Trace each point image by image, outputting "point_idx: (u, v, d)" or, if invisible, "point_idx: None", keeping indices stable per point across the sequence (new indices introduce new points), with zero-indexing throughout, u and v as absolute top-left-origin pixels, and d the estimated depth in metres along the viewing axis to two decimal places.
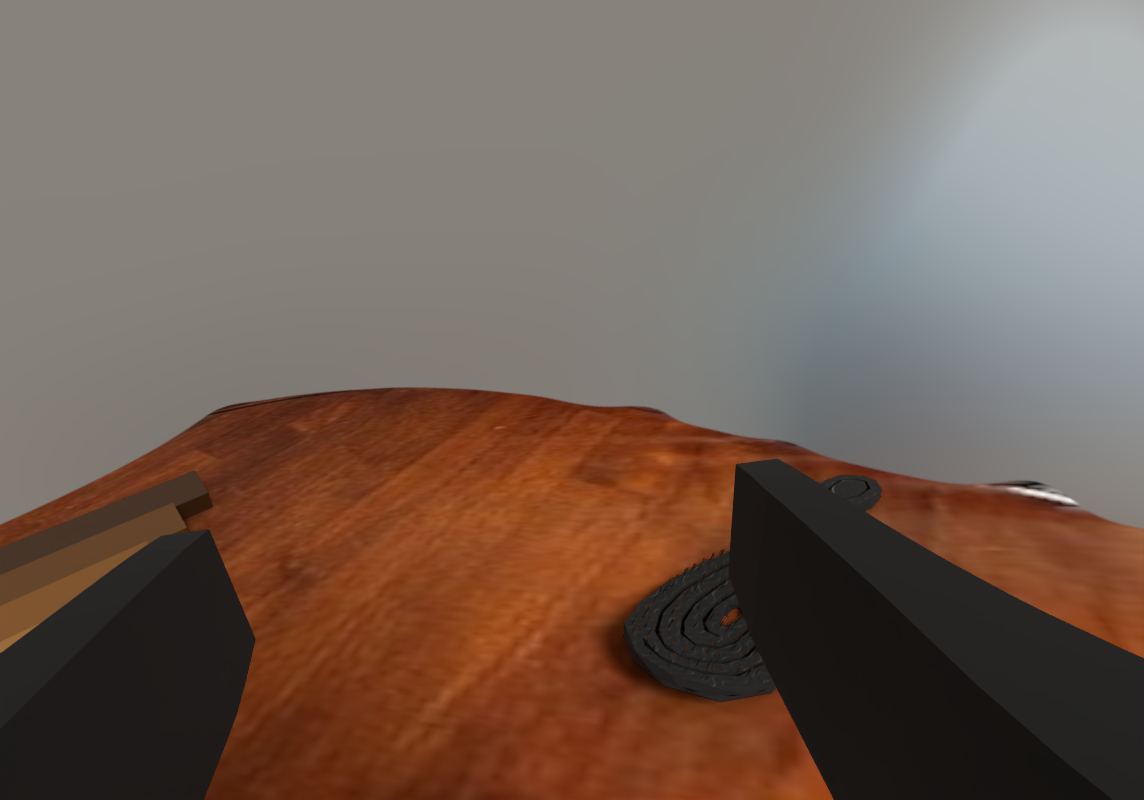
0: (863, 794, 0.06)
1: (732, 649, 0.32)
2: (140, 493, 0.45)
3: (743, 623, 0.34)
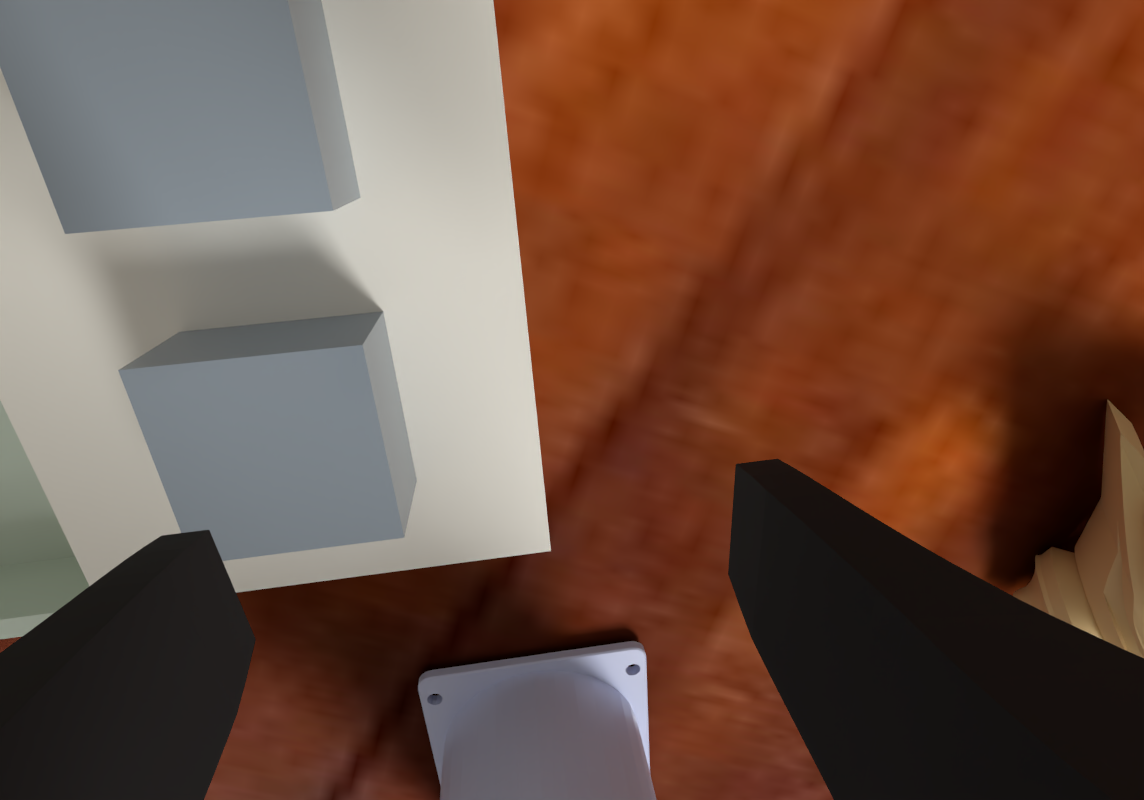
0: (863, 794, 0.06)
1: None
2: None
3: None
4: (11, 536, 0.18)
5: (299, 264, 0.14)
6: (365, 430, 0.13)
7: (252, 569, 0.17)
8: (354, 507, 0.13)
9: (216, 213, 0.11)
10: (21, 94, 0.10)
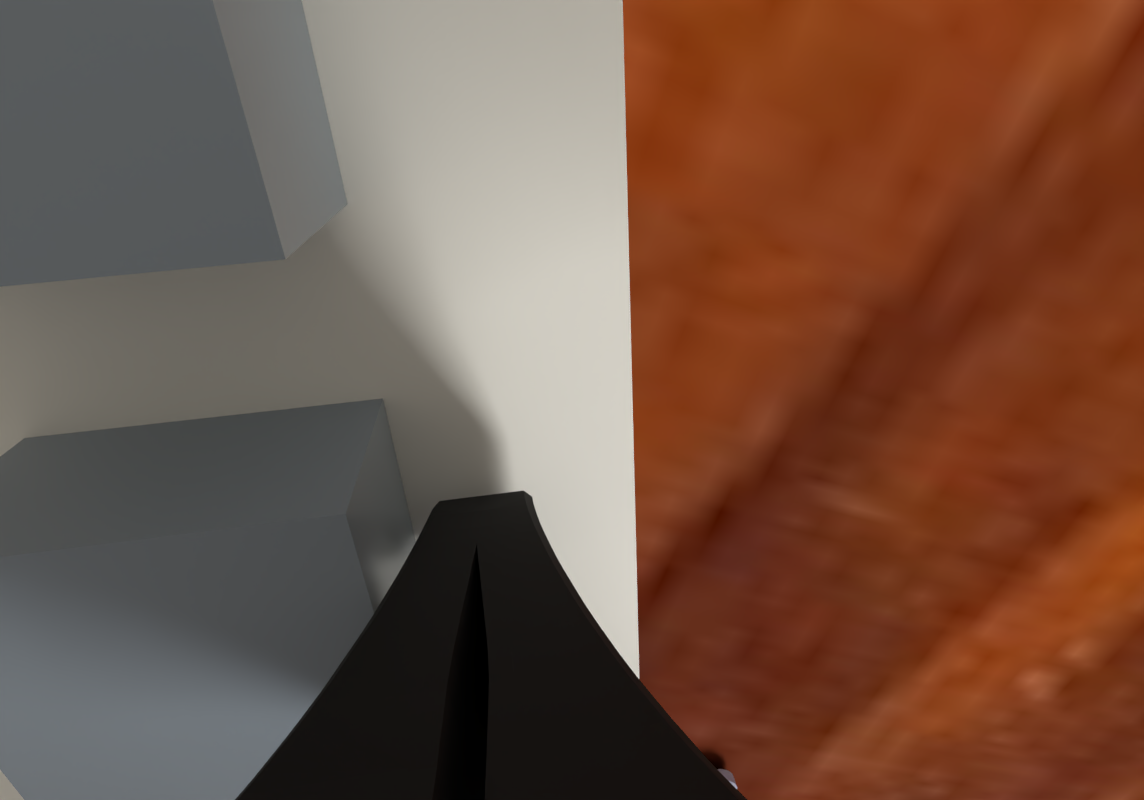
0: None
1: None
2: None
3: None
4: None
5: (240, 323, 0.08)
6: None
7: None
8: None
9: (14, 269, 0.05)
10: None
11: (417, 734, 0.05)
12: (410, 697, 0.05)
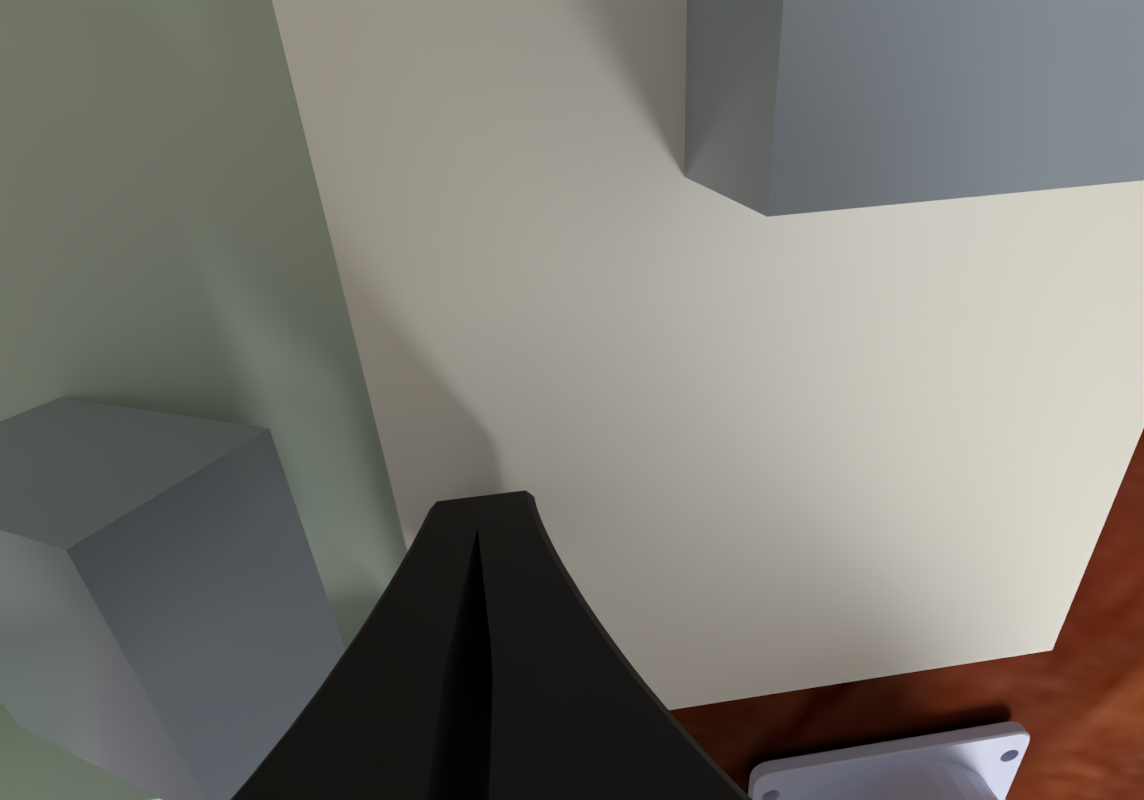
0: None
1: None
2: None
3: None
4: None
5: (896, 258, 0.08)
6: (121, 673, 0.07)
7: (666, 687, 0.12)
8: (148, 761, 0.08)
9: (1052, 175, 0.05)
10: None
11: (411, 736, 0.05)
12: (405, 697, 0.05)
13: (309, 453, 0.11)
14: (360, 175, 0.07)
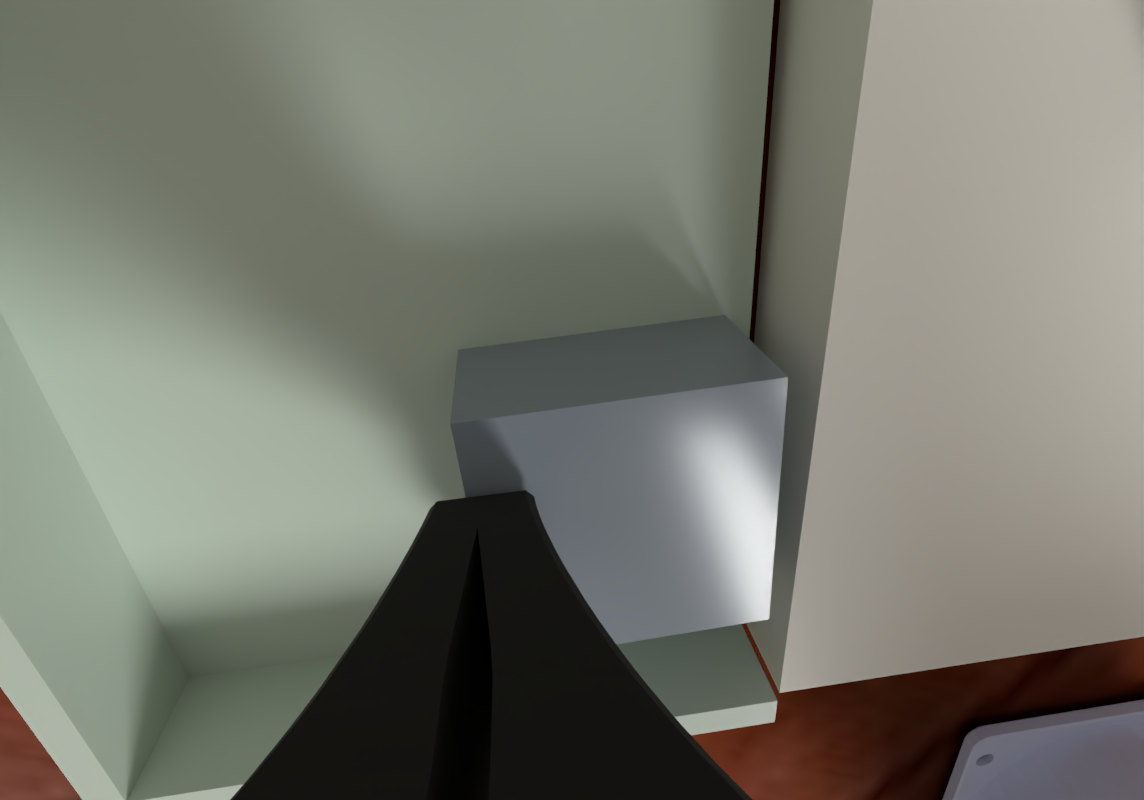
0: None
1: None
2: None
3: None
4: None
5: None
6: (759, 490, 0.09)
7: (983, 638, 0.12)
8: (718, 586, 0.10)
9: None
10: None
11: (413, 736, 0.05)
12: (405, 698, 0.05)
13: None
14: (895, 126, 0.07)
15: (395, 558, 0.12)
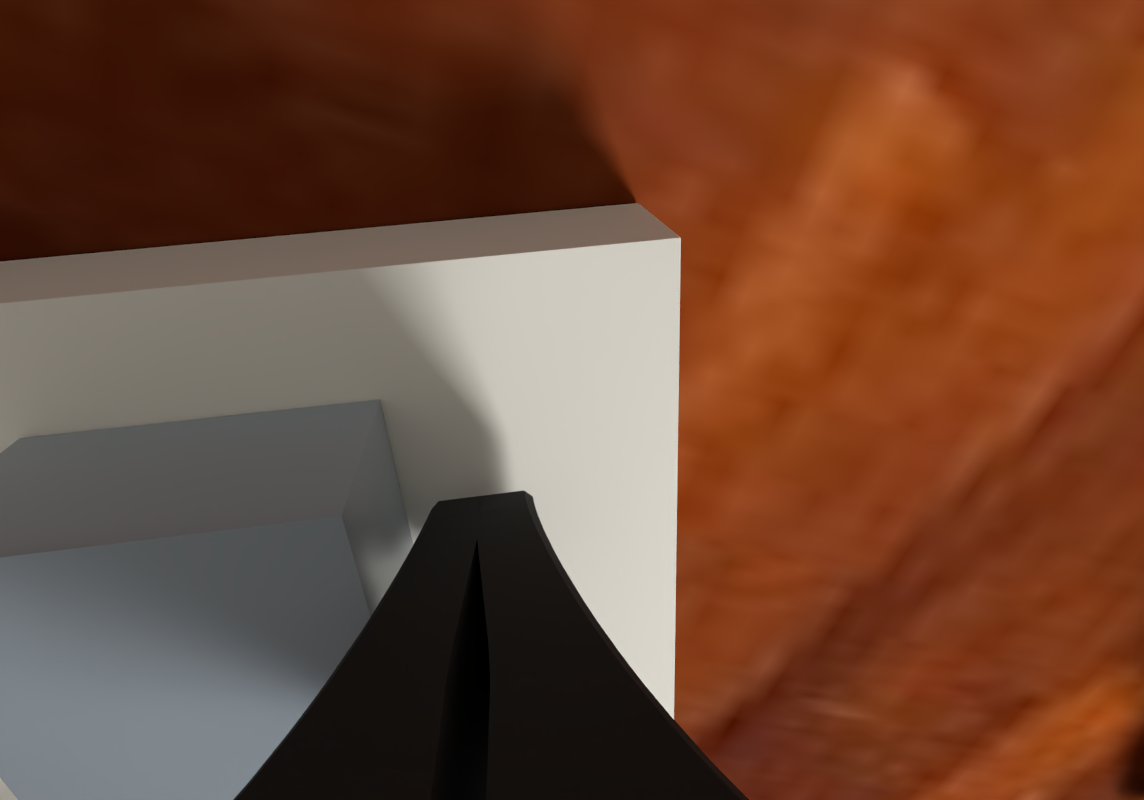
0: None
1: None
2: None
3: None
4: None
5: None
6: None
7: None
8: None
9: None
10: None
11: (415, 736, 0.05)
12: (409, 696, 0.05)
13: None
14: None
15: None
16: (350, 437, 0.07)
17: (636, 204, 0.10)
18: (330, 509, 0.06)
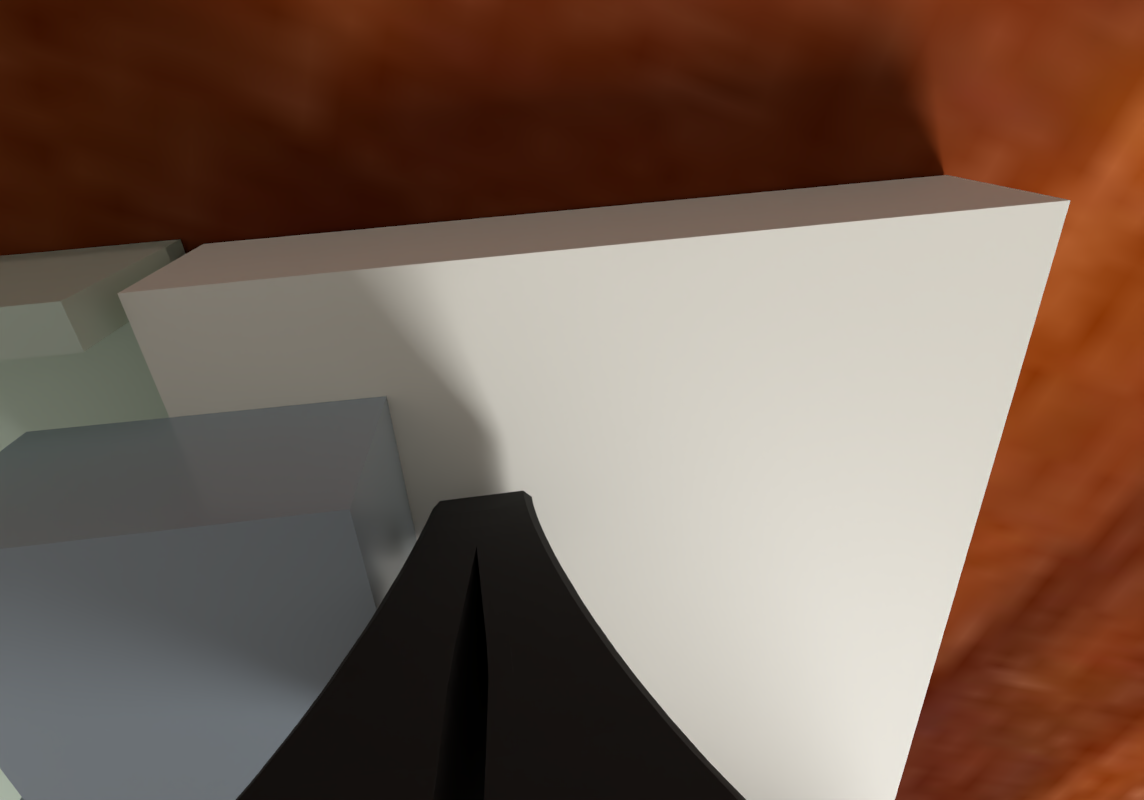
0: None
1: None
2: None
3: None
4: None
5: (697, 652, 0.11)
6: None
7: None
8: None
9: None
10: None
11: (417, 734, 0.05)
12: (410, 697, 0.05)
13: None
14: None
15: None
16: (357, 432, 0.07)
17: (948, 176, 0.10)
18: (337, 502, 0.06)
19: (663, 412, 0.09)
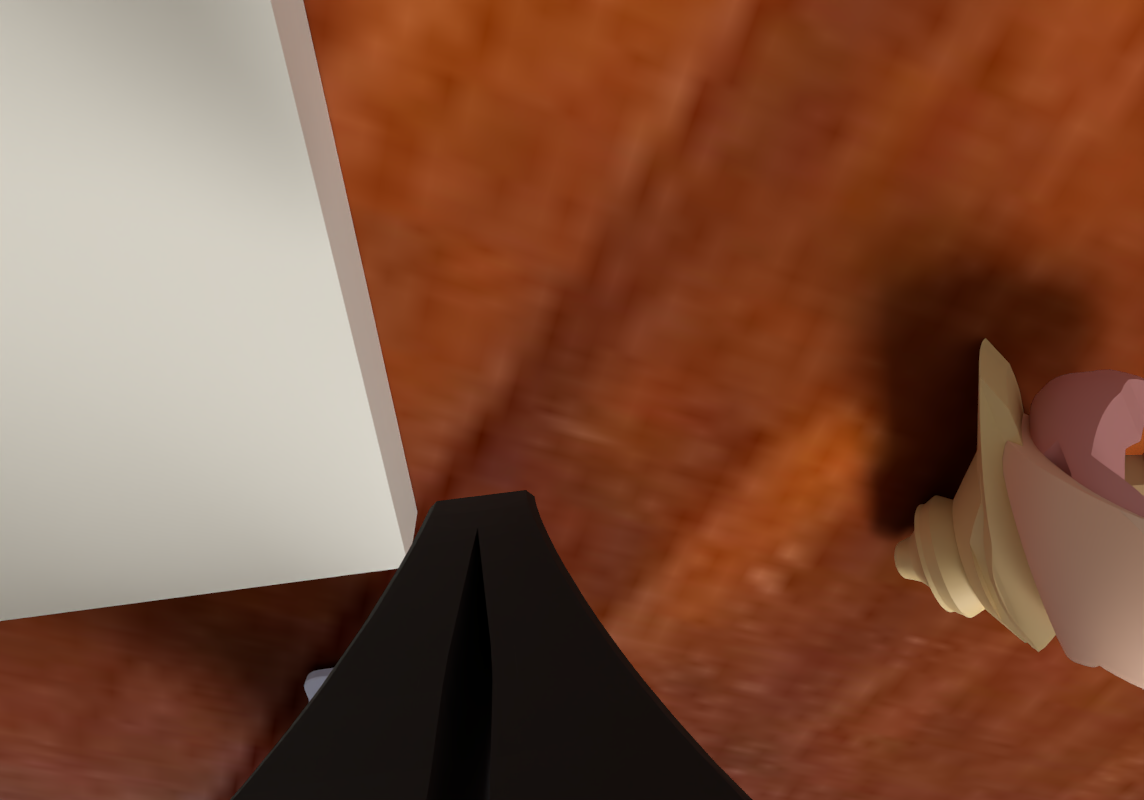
0: None
1: None
2: None
3: None
4: None
5: (102, 291, 0.13)
6: None
7: (100, 588, 0.16)
8: None
9: None
10: None
11: (411, 736, 0.05)
12: (405, 697, 0.05)
13: None
14: None
15: None
16: None
17: None
18: None
19: None
